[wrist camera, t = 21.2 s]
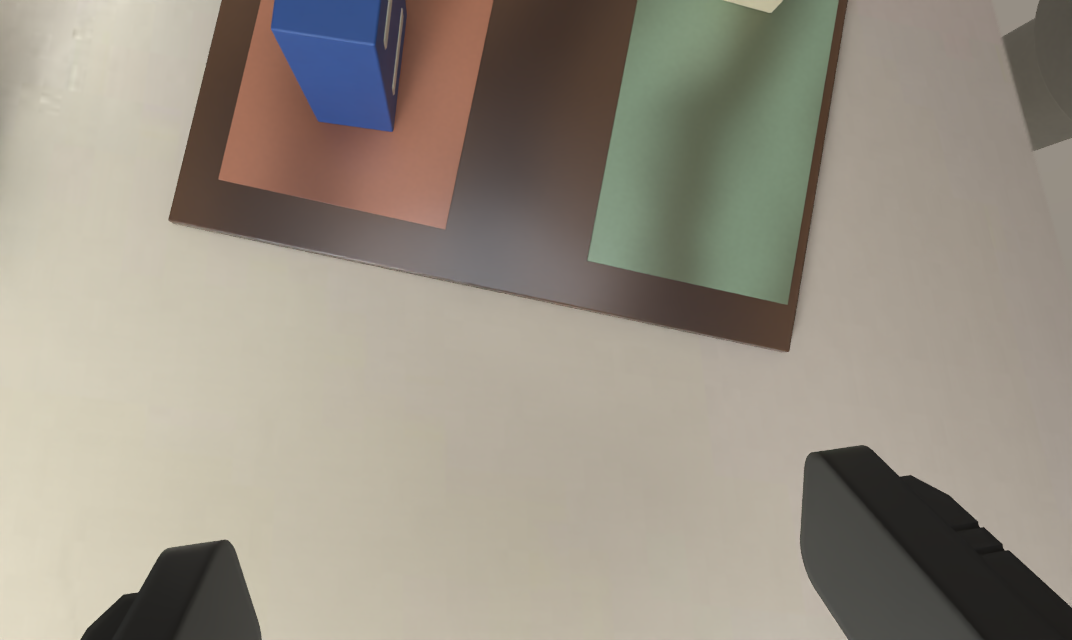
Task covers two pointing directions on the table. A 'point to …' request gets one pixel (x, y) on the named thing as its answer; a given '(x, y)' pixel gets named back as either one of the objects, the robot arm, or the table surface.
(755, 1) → the tile
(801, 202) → the brown flat rectangular board
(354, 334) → the table surface
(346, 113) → the blue rectangular block
